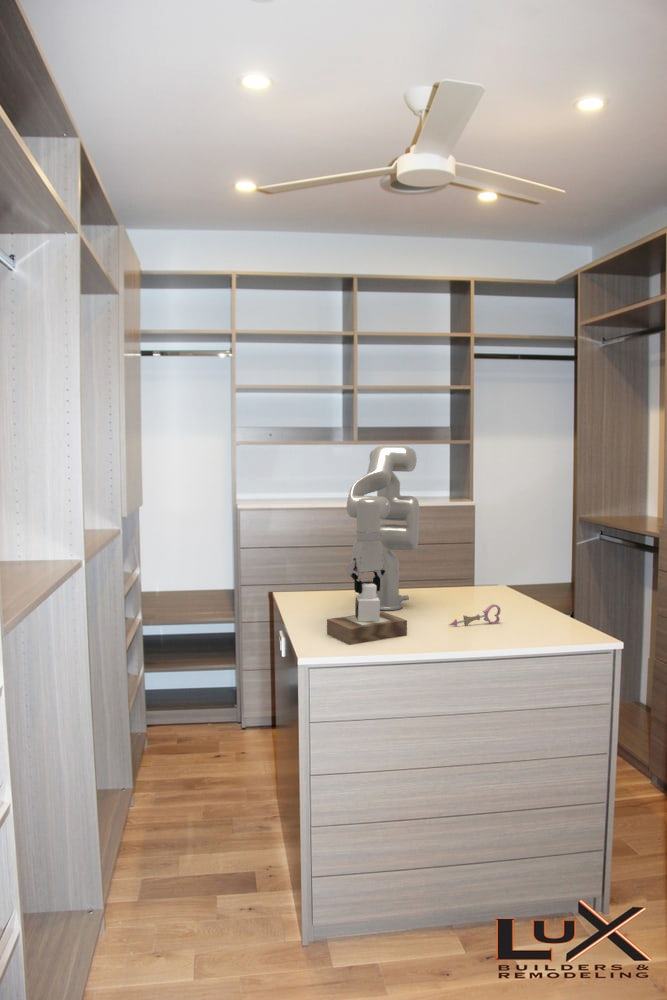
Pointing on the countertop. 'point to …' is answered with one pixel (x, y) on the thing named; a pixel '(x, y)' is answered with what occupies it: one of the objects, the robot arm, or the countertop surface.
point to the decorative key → (477, 617)
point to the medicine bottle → (367, 603)
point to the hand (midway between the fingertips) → (367, 590)
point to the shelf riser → (366, 628)
